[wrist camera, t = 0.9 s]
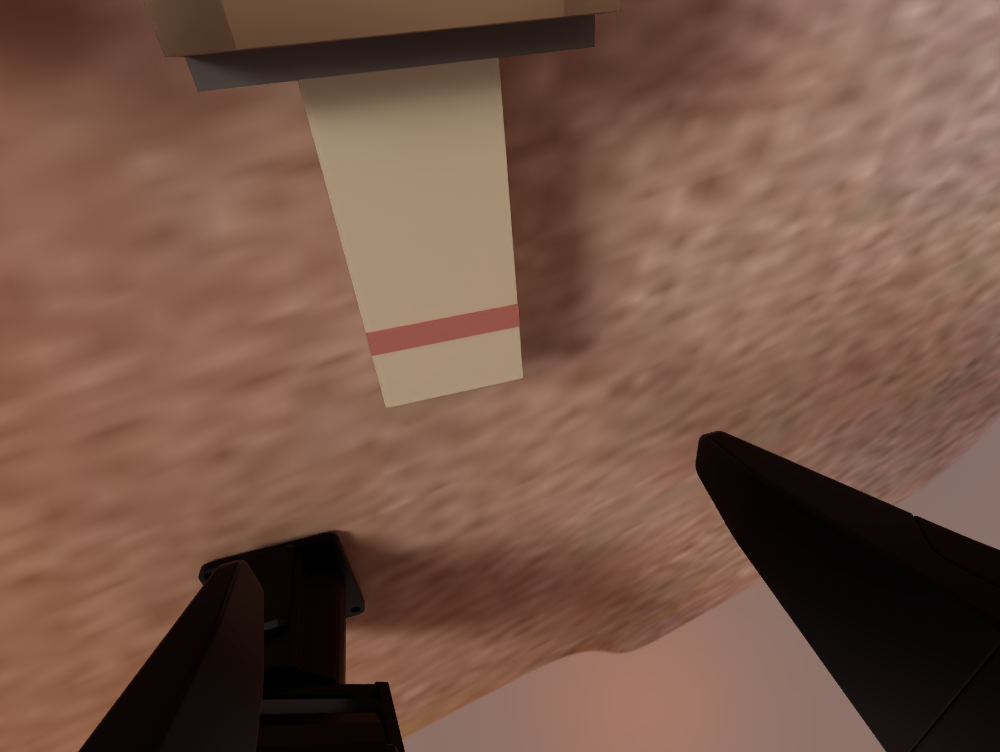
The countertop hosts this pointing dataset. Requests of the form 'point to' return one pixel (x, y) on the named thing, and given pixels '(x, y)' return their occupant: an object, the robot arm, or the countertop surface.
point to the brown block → (359, 34)
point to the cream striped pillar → (424, 221)
